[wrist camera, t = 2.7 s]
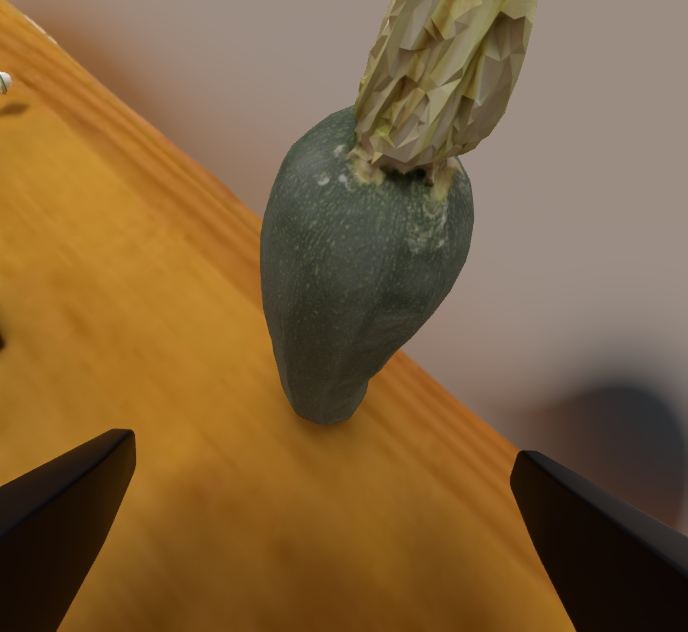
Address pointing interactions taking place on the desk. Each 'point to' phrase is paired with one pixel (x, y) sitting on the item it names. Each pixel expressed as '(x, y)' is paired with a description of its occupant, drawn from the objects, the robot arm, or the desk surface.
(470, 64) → the vegetable
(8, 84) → the action figure
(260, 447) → the desk surface
